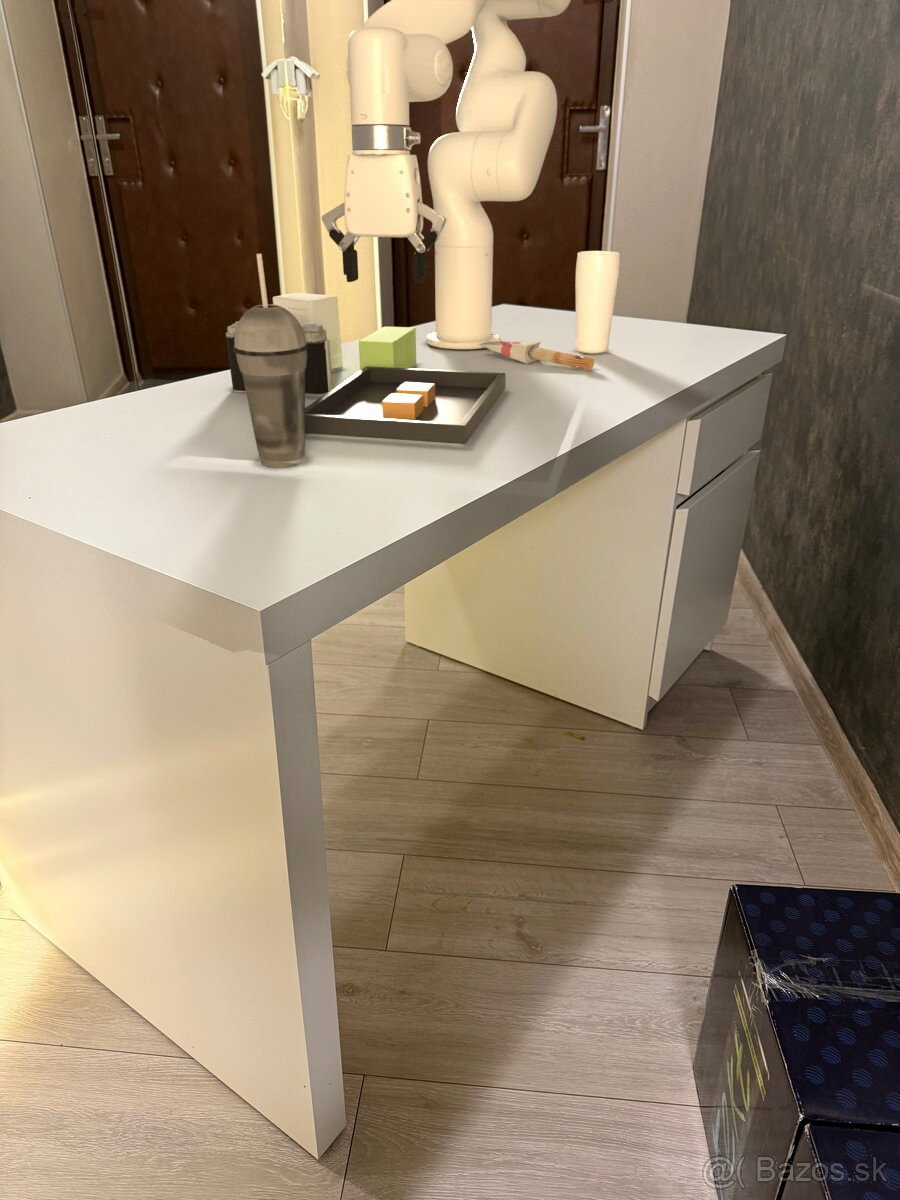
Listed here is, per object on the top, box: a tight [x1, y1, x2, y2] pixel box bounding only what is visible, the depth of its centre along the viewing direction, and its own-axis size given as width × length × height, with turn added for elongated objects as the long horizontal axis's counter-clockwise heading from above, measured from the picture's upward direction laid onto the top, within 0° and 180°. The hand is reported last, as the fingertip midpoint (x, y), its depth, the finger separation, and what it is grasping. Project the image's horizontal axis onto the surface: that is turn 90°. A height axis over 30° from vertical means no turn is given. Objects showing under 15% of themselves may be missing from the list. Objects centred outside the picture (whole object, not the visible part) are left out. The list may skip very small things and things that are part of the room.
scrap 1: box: [382, 393, 423, 420], centre depth 100 cm, size 4×4×2 cm
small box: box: [272, 292, 344, 370], centre depth 122 cm, size 8×6×10 cm
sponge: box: [358, 326, 417, 371], centre depth 122 cm, size 12×5×6 cm, turn 167°
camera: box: [225, 320, 334, 395], centre depth 109 cm, size 15×7×10 cm, turn 72°
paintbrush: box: [478, 341, 595, 371], centre depth 129 cm, size 4×3×20 cm
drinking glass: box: [574, 250, 621, 355], centre depth 133 cm, size 7×7×15 cm
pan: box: [305, 366, 507, 445], centre depth 102 cm, size 26×20×3 cm
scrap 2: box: [396, 382, 435, 407], centre depth 105 cm, size 4×4×2 cm
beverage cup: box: [233, 253, 308, 469], centre depth 82 cm, size 7×7×20 cm
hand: (385, 282), depth 116 cm, fingers open, 9 cm apart
